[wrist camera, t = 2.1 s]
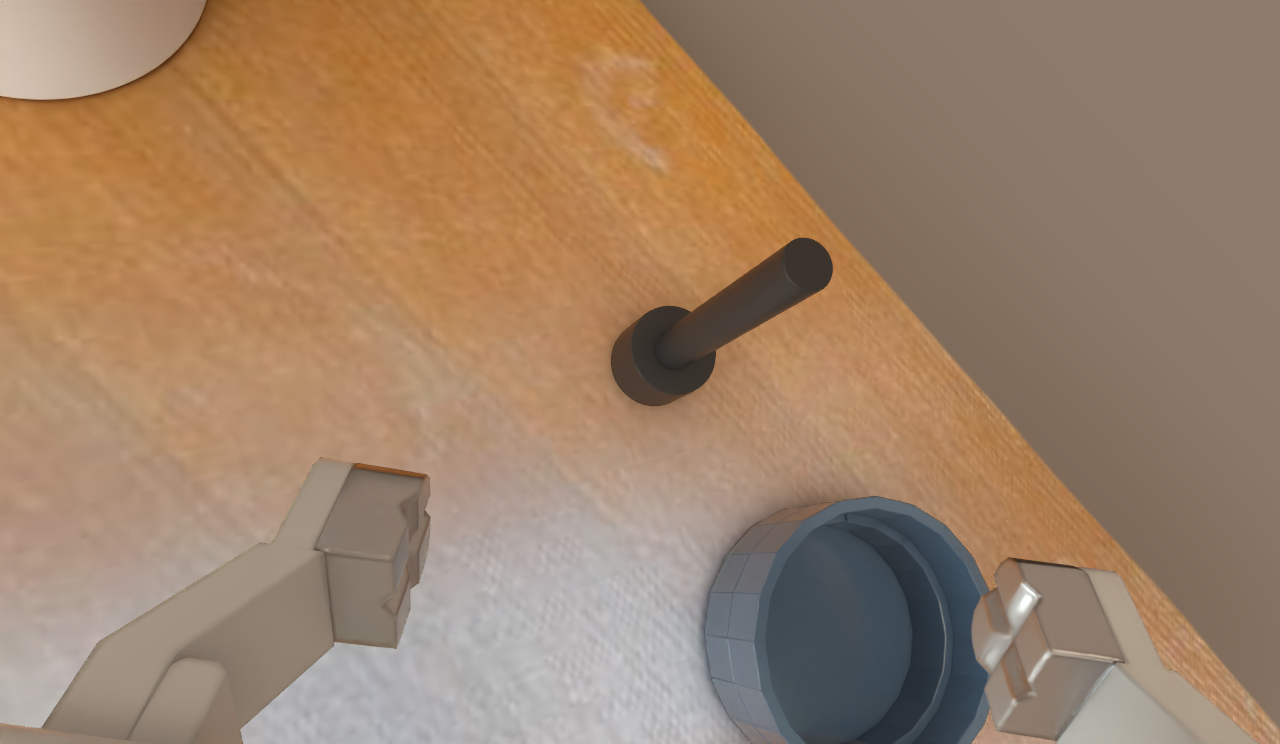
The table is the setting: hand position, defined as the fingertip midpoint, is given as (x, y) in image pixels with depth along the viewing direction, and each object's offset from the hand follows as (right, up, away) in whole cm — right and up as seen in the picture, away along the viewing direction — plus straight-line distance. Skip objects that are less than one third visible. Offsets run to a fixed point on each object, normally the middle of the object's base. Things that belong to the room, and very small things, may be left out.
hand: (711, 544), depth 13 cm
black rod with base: (0, +3, +34) cm, 34 cm away
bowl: (+8, -11, +33) cm, 36 cm away
